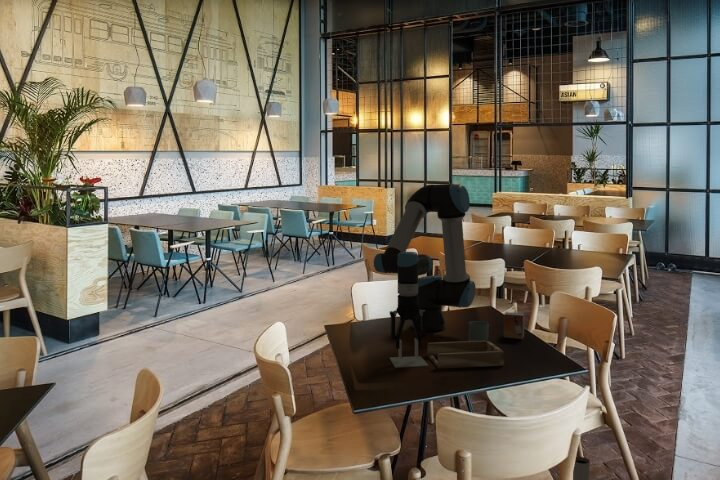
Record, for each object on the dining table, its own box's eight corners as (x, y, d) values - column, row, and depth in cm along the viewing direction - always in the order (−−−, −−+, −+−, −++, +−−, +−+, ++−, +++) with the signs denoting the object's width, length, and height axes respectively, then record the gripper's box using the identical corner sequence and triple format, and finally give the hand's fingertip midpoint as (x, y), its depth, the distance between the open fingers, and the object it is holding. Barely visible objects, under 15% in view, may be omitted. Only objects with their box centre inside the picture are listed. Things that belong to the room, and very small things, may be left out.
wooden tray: (427, 355, 226) (427, 342, 226) (488, 352, 229) (488, 340, 229) (438, 368, 209) (438, 354, 209) (504, 365, 212) (504, 351, 212)
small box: (503, 338, 252) (503, 314, 251) (505, 335, 257) (505, 311, 256) (522, 340, 249) (523, 315, 248) (524, 337, 254) (524, 312, 253)
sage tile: (389, 358, 223) (389, 357, 223) (420, 357, 224) (420, 356, 224) (395, 367, 211) (395, 366, 211) (428, 366, 213) (428, 365, 213)
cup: (488, 350, 233) (488, 325, 232) (468, 349, 234) (468, 324, 234) (488, 345, 240) (488, 321, 240) (468, 344, 242) (468, 320, 241)
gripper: (384, 297, 211) (385, 360, 213) (435, 295, 213) (435, 358, 215) (381, 293, 218) (381, 355, 220) (430, 292, 221) (430, 353, 222)
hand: (408, 356), depth 218 cm, fingers open, 5 cm apart
